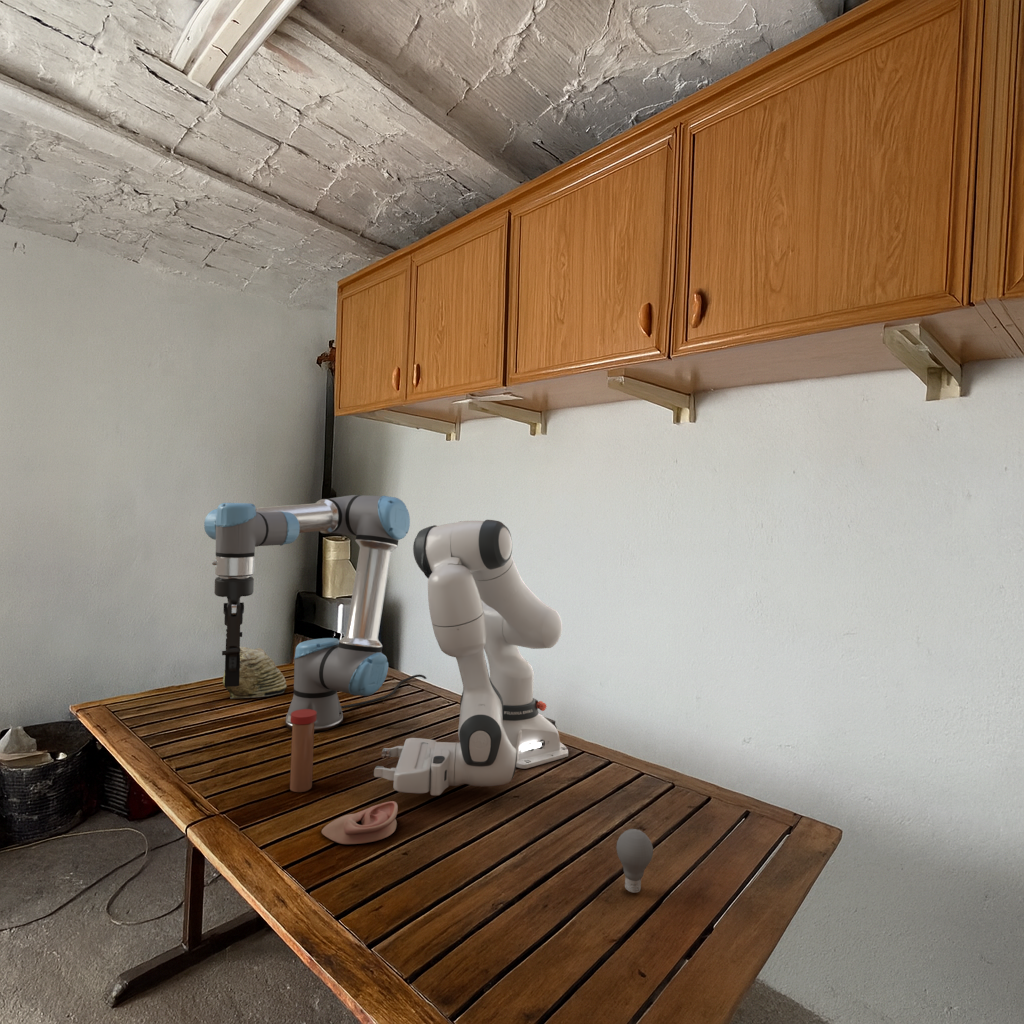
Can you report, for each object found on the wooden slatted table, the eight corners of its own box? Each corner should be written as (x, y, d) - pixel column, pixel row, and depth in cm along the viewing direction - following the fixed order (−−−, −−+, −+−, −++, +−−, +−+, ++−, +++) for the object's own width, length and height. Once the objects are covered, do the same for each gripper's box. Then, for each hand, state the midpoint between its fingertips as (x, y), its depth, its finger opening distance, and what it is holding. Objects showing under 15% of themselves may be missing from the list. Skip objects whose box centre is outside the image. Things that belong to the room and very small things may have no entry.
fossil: (218, 695, 195) (220, 647, 195) (278, 685, 208) (279, 640, 207) (228, 703, 189) (230, 653, 188) (289, 692, 201) (290, 645, 201)
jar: (285, 787, 137) (288, 714, 137) (305, 780, 141) (307, 710, 141) (296, 794, 134) (299, 720, 134) (316, 787, 138) (318, 715, 137)
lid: (285, 719, 137) (286, 712, 137) (308, 714, 141) (308, 707, 141) (298, 726, 134) (298, 719, 134) (321, 720, 138) (321, 713, 137)
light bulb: (610, 879, 108) (613, 822, 108) (644, 879, 109) (647, 822, 109) (619, 902, 102) (622, 840, 102) (655, 901, 103) (658, 840, 103)
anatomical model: (313, 818, 117) (342, 790, 128) (313, 839, 117) (341, 810, 128) (381, 829, 114) (404, 800, 125) (380, 850, 114) (403, 819, 125)
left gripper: (216, 569, 143) (213, 662, 143) (213, 585, 120) (210, 696, 121) (252, 568, 146) (249, 660, 146) (255, 584, 123) (252, 692, 124)
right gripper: (445, 731, 149) (386, 730, 148) (439, 768, 128) (370, 767, 128) (444, 758, 149) (385, 756, 148) (437, 799, 128) (369, 798, 128)
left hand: (231, 676), depth 134 cm, fingers open, 13 cm apart
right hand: (378, 761), depth 138 cm, fingers open, 8 cm apart
